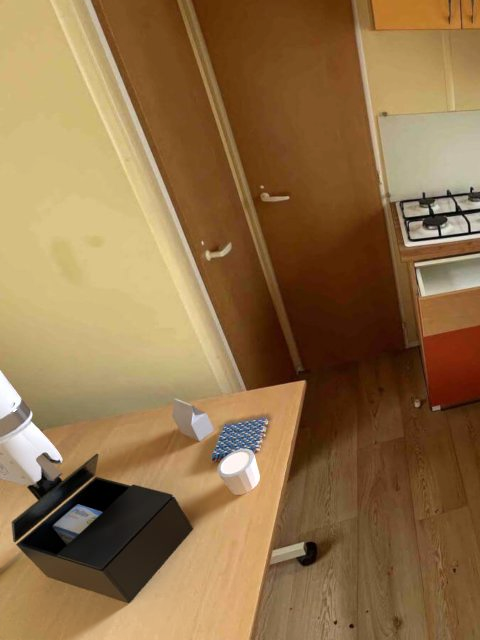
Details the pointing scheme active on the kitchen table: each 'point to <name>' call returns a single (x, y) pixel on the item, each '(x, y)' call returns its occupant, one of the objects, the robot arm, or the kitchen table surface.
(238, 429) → the woven mat
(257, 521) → the kitchen table surface
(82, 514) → the medicine box
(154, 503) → the black flap box
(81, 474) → the flap
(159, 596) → the kitchen table surface
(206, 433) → the white gable carton
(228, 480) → the white short cylinder
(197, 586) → the kitchen table surface
